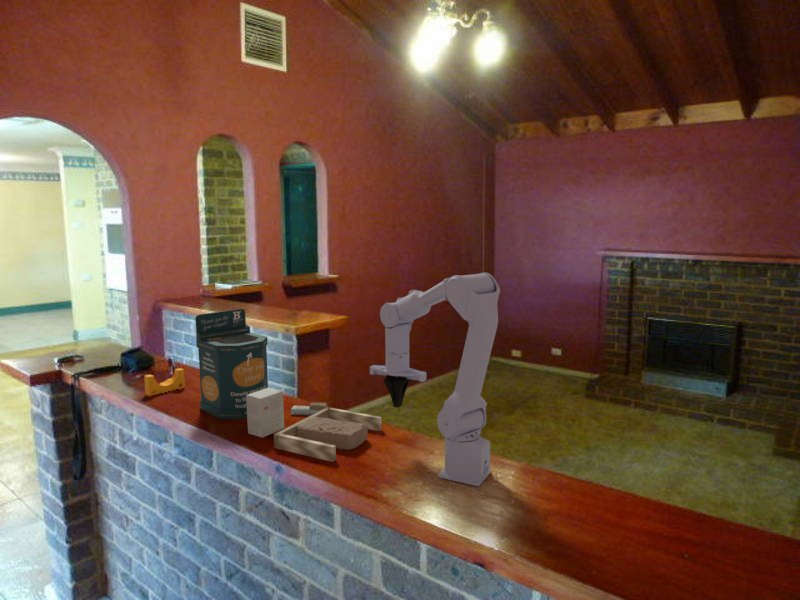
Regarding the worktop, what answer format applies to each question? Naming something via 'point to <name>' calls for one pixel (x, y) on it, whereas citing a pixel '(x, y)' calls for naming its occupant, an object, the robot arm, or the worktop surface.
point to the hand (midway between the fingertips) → (397, 406)
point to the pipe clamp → (164, 383)
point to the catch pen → (317, 449)
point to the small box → (265, 412)
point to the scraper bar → (308, 409)
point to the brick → (333, 432)
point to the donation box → (229, 363)
